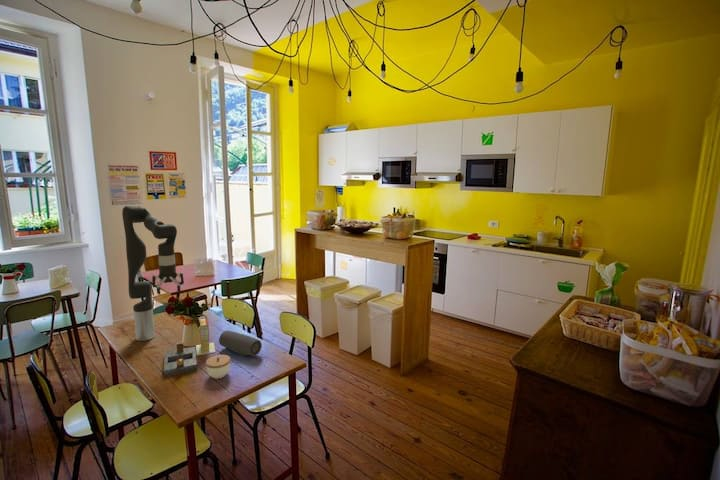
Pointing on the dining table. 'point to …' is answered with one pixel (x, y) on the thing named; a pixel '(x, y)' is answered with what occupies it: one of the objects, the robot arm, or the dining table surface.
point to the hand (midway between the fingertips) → (169, 293)
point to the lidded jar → (218, 366)
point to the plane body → (180, 360)
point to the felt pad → (211, 350)
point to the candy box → (204, 335)
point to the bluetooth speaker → (240, 343)
